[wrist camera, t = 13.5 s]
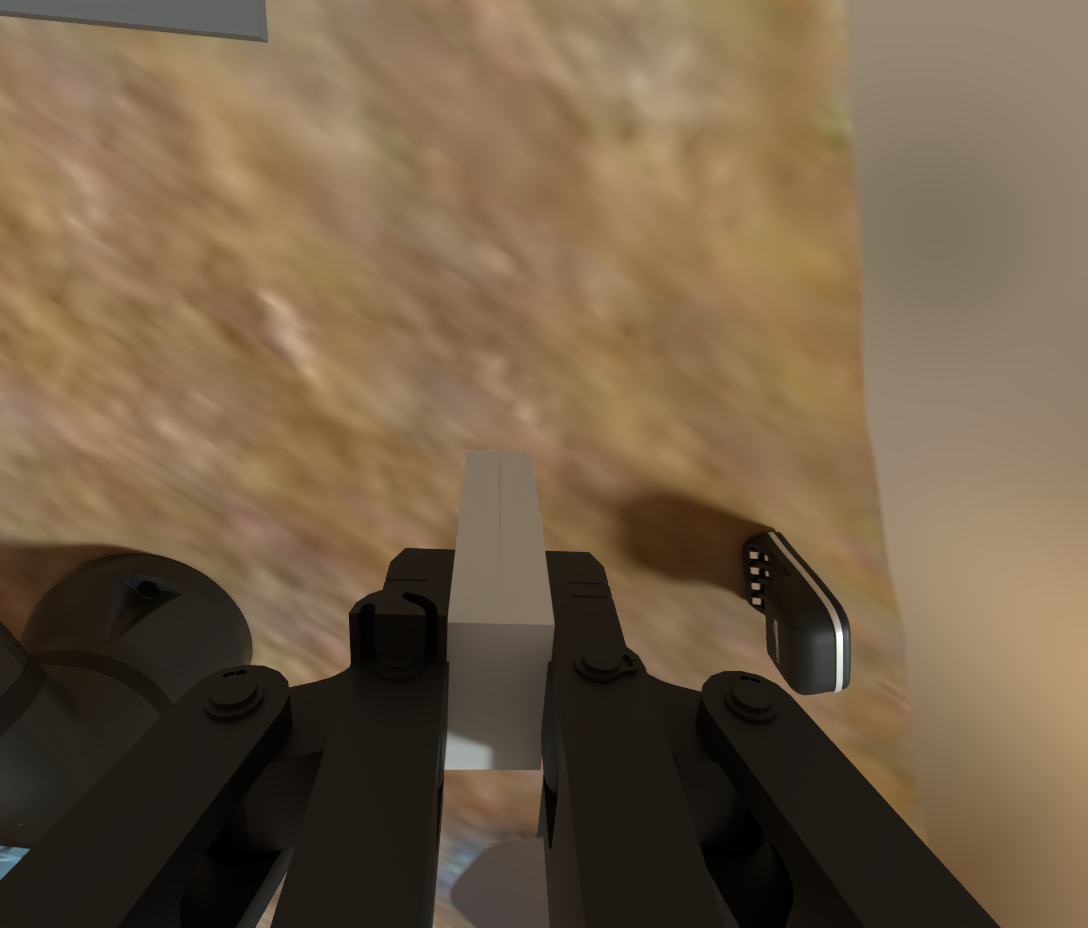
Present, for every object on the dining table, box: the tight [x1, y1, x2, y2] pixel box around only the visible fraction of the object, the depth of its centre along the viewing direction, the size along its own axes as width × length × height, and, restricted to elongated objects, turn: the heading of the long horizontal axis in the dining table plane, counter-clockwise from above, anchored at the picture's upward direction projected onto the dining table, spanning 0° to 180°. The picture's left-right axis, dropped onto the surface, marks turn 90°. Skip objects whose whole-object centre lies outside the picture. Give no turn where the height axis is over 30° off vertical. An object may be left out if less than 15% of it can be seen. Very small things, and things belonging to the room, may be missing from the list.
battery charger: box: [743, 532, 851, 695], centre depth 47 cm, size 7×4×11 cm, turn 10°
